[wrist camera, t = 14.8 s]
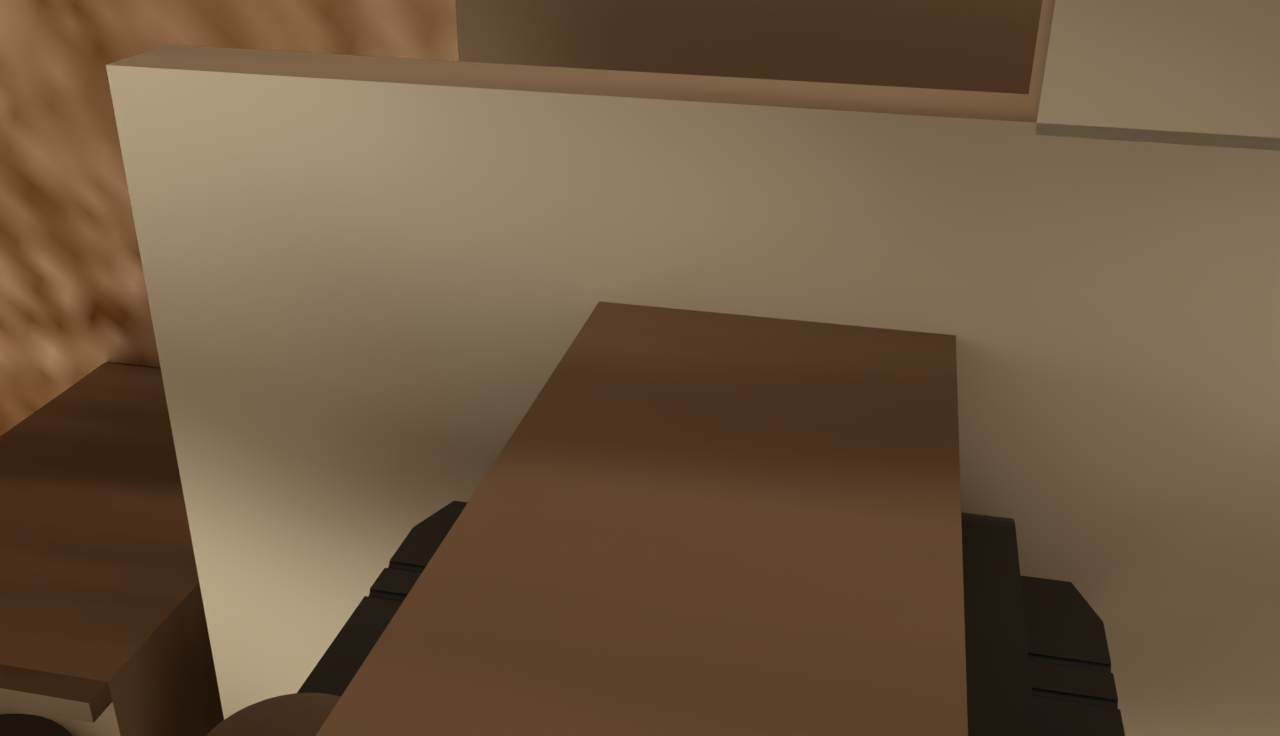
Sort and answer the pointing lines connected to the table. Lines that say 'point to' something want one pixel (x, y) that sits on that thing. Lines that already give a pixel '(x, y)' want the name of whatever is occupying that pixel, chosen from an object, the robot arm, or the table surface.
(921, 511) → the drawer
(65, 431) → the mini nightstand
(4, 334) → the table surface
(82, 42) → the table surface
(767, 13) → the stand
